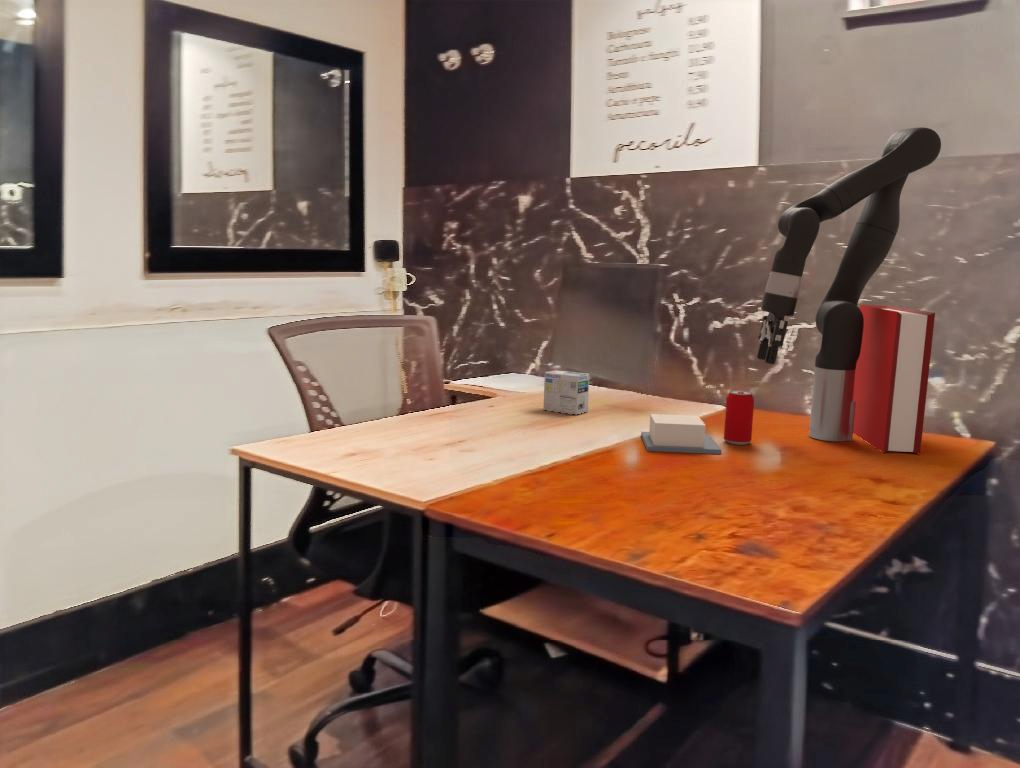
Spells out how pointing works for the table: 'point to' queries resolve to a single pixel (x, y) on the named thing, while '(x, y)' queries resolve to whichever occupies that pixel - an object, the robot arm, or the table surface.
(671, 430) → the butter dish
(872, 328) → the book
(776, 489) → the table surface
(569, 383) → the light bulb box
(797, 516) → the table surface
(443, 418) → the table surface
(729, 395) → the beverage can
